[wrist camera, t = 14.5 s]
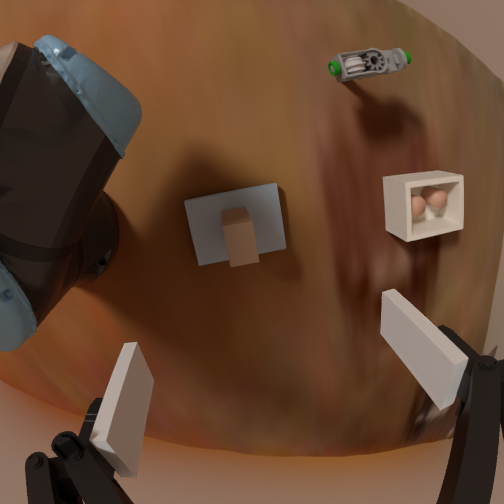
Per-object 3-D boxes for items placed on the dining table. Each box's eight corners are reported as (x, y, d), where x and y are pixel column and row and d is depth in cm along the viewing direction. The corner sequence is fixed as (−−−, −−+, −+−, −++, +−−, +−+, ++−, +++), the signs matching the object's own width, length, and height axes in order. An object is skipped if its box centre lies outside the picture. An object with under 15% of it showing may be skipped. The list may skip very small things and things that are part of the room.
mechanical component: (376, 80, 36) (415, 67, 27) (311, 94, 36) (340, 80, 27) (369, 61, 35) (406, 44, 26) (304, 74, 35) (330, 54, 26)
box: (385, 230, 43) (407, 242, 38) (382, 176, 41) (405, 182, 35) (440, 219, 44) (463, 228, 38) (438, 170, 41) (463, 175, 35)
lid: (199, 261, 42) (195, 293, 33) (185, 199, 39) (175, 215, 30) (283, 244, 42) (301, 271, 33) (274, 182, 39) (291, 192, 30)
